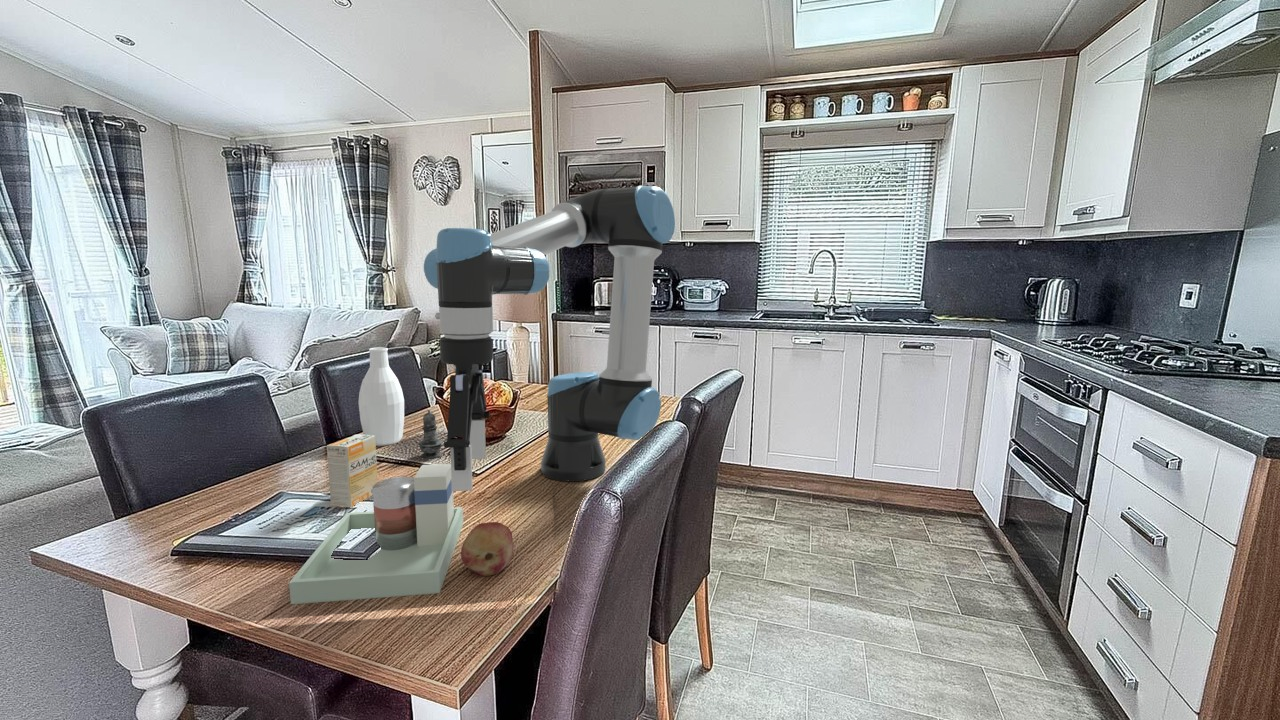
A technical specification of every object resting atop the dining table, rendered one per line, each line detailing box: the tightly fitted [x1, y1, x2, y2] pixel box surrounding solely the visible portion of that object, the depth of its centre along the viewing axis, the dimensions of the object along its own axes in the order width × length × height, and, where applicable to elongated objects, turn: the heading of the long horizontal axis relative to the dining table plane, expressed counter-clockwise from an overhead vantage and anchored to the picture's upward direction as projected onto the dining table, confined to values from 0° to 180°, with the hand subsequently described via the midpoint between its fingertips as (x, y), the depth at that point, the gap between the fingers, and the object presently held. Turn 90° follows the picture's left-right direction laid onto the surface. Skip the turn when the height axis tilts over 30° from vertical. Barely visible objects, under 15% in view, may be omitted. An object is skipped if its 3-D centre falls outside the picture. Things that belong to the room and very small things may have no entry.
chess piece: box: [417, 409, 444, 460], centre depth 137 cm, size 6×6×12 cm
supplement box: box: [326, 433, 378, 508], centre depth 109 cm, size 8×5×13 cm, turn 168°
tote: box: [288, 506, 464, 605], centre depth 88 cm, size 20×22×4 cm
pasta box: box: [413, 463, 455, 546], centre depth 94 cm, size 5×6×12 cm
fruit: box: [460, 521, 514, 577], centre depth 85 cm, size 8×8×8 cm
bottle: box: [358, 346, 405, 447], centre depth 147 cm, size 11×11×25 cm
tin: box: [372, 476, 417, 550], centre depth 93 cm, size 7×7×10 cm
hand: (470, 473), depth 84 cm, fingers open, 13 cm apart
